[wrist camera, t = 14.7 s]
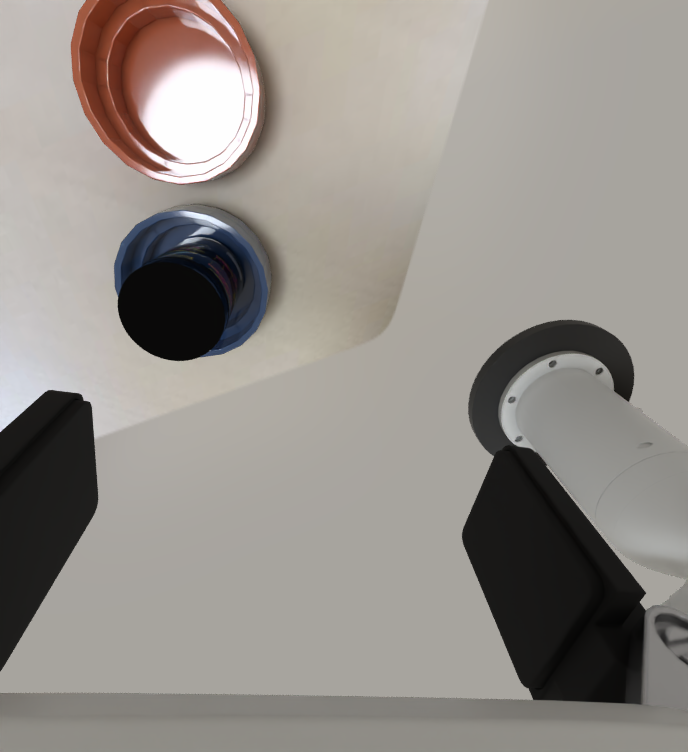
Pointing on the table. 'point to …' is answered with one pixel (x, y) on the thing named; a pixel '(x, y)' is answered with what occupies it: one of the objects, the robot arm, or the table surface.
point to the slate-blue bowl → (215, 225)
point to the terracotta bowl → (169, 85)
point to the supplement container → (181, 299)
